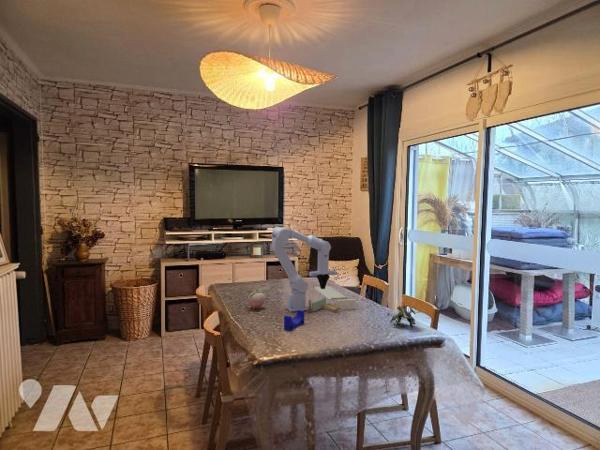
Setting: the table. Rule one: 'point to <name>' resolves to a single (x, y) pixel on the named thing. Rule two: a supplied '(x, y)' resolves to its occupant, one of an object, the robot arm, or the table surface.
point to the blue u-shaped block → (294, 320)
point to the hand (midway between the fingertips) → (322, 288)
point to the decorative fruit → (256, 299)
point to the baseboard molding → (330, 293)
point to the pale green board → (341, 304)
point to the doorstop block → (331, 308)
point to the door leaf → (318, 304)
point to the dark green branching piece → (403, 314)
